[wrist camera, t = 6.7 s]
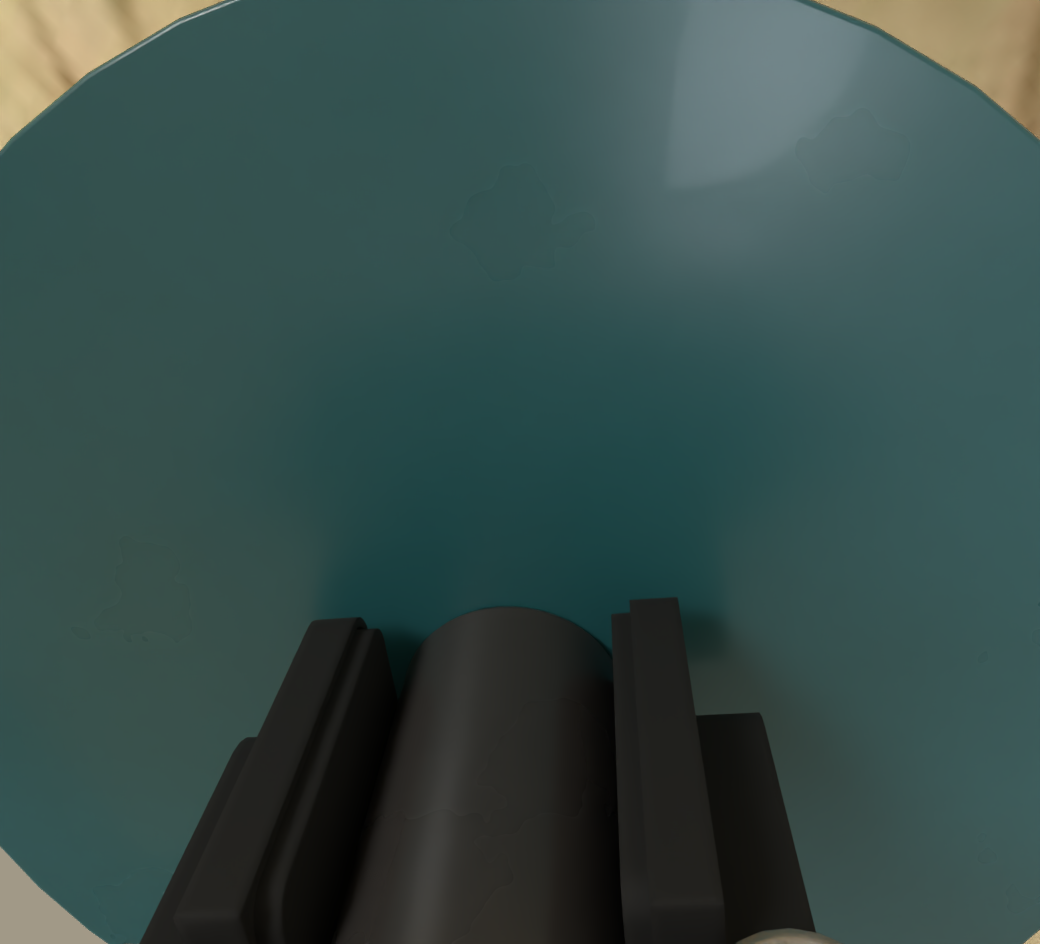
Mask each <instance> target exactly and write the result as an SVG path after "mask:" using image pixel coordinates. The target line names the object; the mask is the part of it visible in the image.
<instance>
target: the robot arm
mask: <svg viewBox="0 0 1040 944" xmlns="http://www.w3.org/2000/svg"><path fill="white" fill-rule="evenodd" d="M629 602H630V613H618V614H611V623H612V652H613V681H614V710H615V739H616V768H617V797H618V826H619V855H620V881H621V898H622V912H623V924H624V935H625V944H843V943H841V942H838V941H836V940H834V939H832V938H829V937H827V936H825V935H822V934H820V933H816V930H815V926H814V922H813V918H812V914H811V910H810V906H809V902H808V898H807V894H806V890H805V885H804V881H803V877H802V873H801V869H800V865H799V861H798V857H797V853H796V849H795V845H794V841H793V837H792V833H791V829H790V825H789V821H788V817H787V813H786V809H785V805H784V801H783V797H782V793H781V789H780V785H779V780H778V776H777V772H776V768H775V764H774V760H773V756H772V752H771V748H770V744H769V740H768V736H767V732H766V728H765V725H764V721H763V718H762V716H761V714H760V712H756V713H735V714H715V715H696V714H695V708H694V701H693V695H692V688H691V681H690V675H689V668H688V662H687V655H686V648H685V642H684V635H683V628H682V622H681V615H680V609H679V602H678V598H677V597H667V598H651V599H635V600H629ZM397 705H398V699H397V695H396V690H395V686H394V681H393V677H392V672H391V668H390V663H389V659H388V654H387V650H386V646H385V641H384V637H383V634H382V632H381V630H380V629H378V628H375V629H368V628H367V625H366V623H365V621H364V619H362V618H361V617H351V618H335V619H320V620H314V621H312V622H311V623H310V625H309V626H308V629H307V631H306V633H305V635H304V637H303V639H302V641H301V644H300V646H299V648H298V650H297V652H296V654H295V656H294V659H293V661H292V663H291V665H290V667H289V669H288V672H287V674H286V676H285V678H284V680H283V682H282V684H281V687H280V689H279V691H278V693H277V695H276V697H275V699H274V702H273V704H272V706H271V708H270V710H269V712H268V715H267V717H266V719H265V721H264V723H263V725H262V727H261V730H260V732H259V734H258V736H257V737H247V738H245V739H244V740H242V741H241V742H239V744H238V745H237V747H236V748H235V750H234V751H233V753H232V755H231V757H230V759H229V761H228V763H227V765H226V767H225V770H224V772H223V774H222V776H221V778H220V780H219V782H218V784H217V786H216V788H215V790H214V792H213V794H212V796H211V798H210V800H209V802H208V804H207V806H206V808H205V810H204V812H203V815H202V817H201V819H200V821H199V823H198V825H197V827H196V829H195V831H194V833H193V835H192V837H191V839H190V841H189V843H188V845H187V847H186V849H185V851H184V853H183V855H182V858H181V860H180V862H179V864H178V866H177V868H176V870H175V872H174V874H173V876H172V878H171V880H170V882H169V884H168V886H167V888H166V890H165V892H164V894H163V896H162V898H161V901H160V903H159V905H158V907H157V909H156V911H155V913H154V915H153V917H152V919H151V921H150V923H149V925H148V927H147V929H146V931H145V933H144V935H143V937H142V939H141V941H140V943H139V944H331V940H332V936H333V933H334V929H335V926H336V922H337V919H338V915H339V912H340V908H341V904H342V901H343V897H344V894H345V890H346V887H347V883H348V880H349V876H350V872H351V869H352V865H353V862H354V858H355V855H356V851H357V848H358V844H359V840H360V837H361V833H362V830H363V826H364V823H365V819H366V815H367V812H368V808H369V805H370V801H371V798H372V794H373V791H374V787H375V783H376V780H377V776H378V773H379V769H380V766H381V762H382V759H383V755H384V751H385V748H386V744H387V741H388V737H389V734H390V730H391V727H392V723H393V719H394V716H395V712H396V709H397ZM124 944H132V943H124Z"/></svg>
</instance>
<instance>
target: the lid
mask: <svg viewBox="0 0 1040 944" xmlns="http://www.w3.org/2000/svg"><path fill="white" fill-rule="evenodd" d="M667 597H677V598H678V602H679V609H680V615H681V622H682V628H683V635H684V642H685V648H686V655H687V662H688V668H689V675H690V681H691V688H692V695H693V701H694V708H695V714H696V715H715V714H735V713H756V712H760V714H761V716H762V718H763V721H764V725H765V728H766V732H767V736H768V740H769V744H770V748H771V752H772V756H773V760H774V764H775V768H776V772H777V776H778V780H779V785H780V789H781V793H782V797H783V801H784V805H785V809H786V813H787V817H788V821H789V825H790V829H791V833H792V837H793V841H794V845H795V849H796V853H797V857H798V861H799V865H800V869H801V873H802V877H803V881H804V885H805V890H806V894H807V898H808V902H809V906H810V910H811V914H812V918H813V922H814V926H815V930H816V933H820V934H822V935H825V936H827V937H829V938H832V939H834V940H836V941H838V942H841V943H843V944H1024V943H1025V942H1026V941H1027V940H1028V939H1029V938H1031V937H1032V936H1033V935H1034V934H1035V933H1036V932H1038V931H1039V930H1040V140H1039V139H1038V138H1037V137H1036V136H1035V135H1033V134H1032V133H1031V132H1030V131H1029V130H1028V129H1026V128H1025V127H1024V126H1023V125H1022V124H1020V123H1019V122H1018V121H1017V120H1016V119H1015V118H1013V117H1012V116H1011V115H1010V114H1009V113H1007V112H1006V111H1005V110H1004V109H1003V108H1001V107H1000V106H999V105H998V104H997V103H996V102H994V101H993V100H992V99H991V98H990V97H988V96H987V95H986V94H985V93H984V92H983V91H981V90H980V89H979V88H978V87H977V86H975V85H974V84H972V83H970V82H969V81H967V80H965V79H964V78H962V77H960V76H959V75H957V74H955V73H954V72H952V71H950V70H949V69H947V68H945V67H944V66H942V65H940V64H939V63H937V62H935V61H934V60H932V59H930V58H929V57H927V56H925V55H924V54H922V53H920V52H919V51H917V50H915V49H914V48H912V47H910V46H909V45H907V44H905V43H904V42H902V41H900V40H899V39H897V38H895V37H894V36H892V35H890V34H889V33H887V32H885V31H884V30H882V29H880V28H879V27H877V26H875V25H872V24H870V23H867V22H865V21H862V20H860V19H858V18H855V17H853V16H850V15H848V14H845V13H843V12H840V11H838V10H835V9H833V8H830V7H828V6H825V5H823V4H820V3H818V2H816V1H813V0H224V1H222V2H219V3H217V4H214V5H212V6H209V7H207V8H204V9H202V10H199V11H197V12H194V13H192V14H189V15H187V16H184V17H182V18H179V19H178V20H176V21H174V22H172V23H171V24H169V25H167V26H166V27H164V28H162V29H161V30H159V31H157V32H156V33H154V34H152V35H151V36H149V37H147V38H146V39H144V40H142V41H141V42H139V43H137V44H136V45H134V46H132V47H131V48H129V49H127V50H126V51H124V52H122V53H121V54H119V55H117V56H116V57H114V58H112V59H111V60H109V61H107V62H105V63H104V64H102V65H100V66H99V67H97V68H95V69H94V70H92V71H90V72H89V73H87V74H86V75H85V76H84V77H83V78H81V79H80V80H79V81H78V82H77V83H76V84H74V85H73V86H72V87H71V88H70V89H68V90H67V91H66V92H65V93H64V94H63V95H61V96H60V97H59V98H58V99H57V100H55V101H54V102H53V103H52V104H51V105H50V106H48V107H47V108H46V109H45V110H44V111H42V112H41V113H40V114H39V115H38V116H37V117H35V118H34V119H33V120H32V121H31V122H29V123H28V124H27V125H26V126H25V127H24V128H22V129H21V130H20V131H19V132H18V133H17V134H15V135H14V136H13V137H12V138H11V139H10V140H9V141H8V142H7V144H6V145H5V146H4V147H3V148H2V150H1V151H0V847H1V848H2V849H3V850H4V851H5V852H6V853H7V854H8V855H9V856H10V857H11V858H12V859H13V860H14V861H15V863H16V864H17V865H18V866H19V867H20V868H21V869H22V870H23V871H24V872H25V873H26V874H27V875H28V876H29V877H30V878H31V879H32V880H33V882H34V883H35V884H36V885H37V886H38V887H39V888H40V889H42V890H43V891H44V892H45V893H46V894H48V895H49V896H50V897H51V898H52V899H53V900H54V901H56V902H57V903H58V904H59V905H60V906H61V907H63V908H64V909H65V910H66V911H67V912H68V913H70V914H71V915H72V916H73V917H74V918H75V919H77V920H78V921H79V922H80V923H81V924H82V925H84V926H85V927H86V928H87V929H88V930H89V931H91V932H92V933H94V934H95V935H97V936H98V937H99V938H101V939H102V940H104V941H105V942H106V943H108V944H124V943H132V944H139V943H140V941H141V939H142V937H143V935H144V933H145V931H146V929H147V927H148V925H149V923H150V921H151V919H152V917H153V915H154V913H155V911H156V909H157V907H158V905H159V903H160V901H161V898H162V896H163V894H164V892H165V890H166V888H167V886H168V884H169V882H170V880H171V878H172V876H173V874H174V872H175V870H176V868H177V866H178V864H179V862H180V860H181V858H182V855H183V853H184V851H185V849H186V847H187V845H188V843H189V841H190V839H191V837H192V835H193V833H194V831H195V829H196V827H197V825H198V823H199V821H200V819H201V817H202V815H203V812H204V810H205V808H206V806H207V804H208V802H209V800H210V798H211V796H212V794H213V792H214V790H215V788H216V786H217V784H218V782H219V780H220V778H221V776H222V774H223V772H224V770H225V767H226V765H227V763H228V761H229V759H230V757H231V755H232V753H233V751H234V750H235V748H236V747H237V745H238V744H239V742H241V741H242V740H244V739H245V738H247V737H257V736H258V734H259V732H260V730H261V727H262V725H263V723H264V721H265V719H266V717H267V715H268V712H269V710H270V708H271V706H272V704H273V702H274V699H275V697H276V695H277V693H278V691H279V689H280V687H281V684H282V682H283V680H284V678H285V676H286V674H287V672H288V669H289V667H290V665H291V663H292V661H293V659H294V656H295V654H296V652H297V650H298V648H299V646H300V644H301V641H302V639H303V637H304V635H305V633H306V631H307V629H308V626H309V625H310V623H311V622H312V621H314V620H320V619H335V618H351V617H361V618H362V619H364V621H365V623H366V625H367V628H368V629H375V628H378V629H380V630H381V632H382V634H383V637H384V641H385V646H386V650H387V654H388V659H389V663H390V668H391V672H392V677H393V681H394V686H395V690H396V695H397V699H398V705H397V709H396V712H395V716H394V719H393V723H392V727H391V730H390V734H389V737H388V741H387V744H386V748H385V751H384V755H383V759H382V762H381V766H380V769H379V773H378V776H377V780H376V783H375V787H374V791H373V794H372V798H371V801H370V805H369V808H368V812H367V815H366V819H365V823H364V826H363V830H362V833H361V837H360V840H359V844H358V848H357V851H356V855H355V858H354V862H353V865H352V869H351V872H350V876H349V880H348V883H347V887H346V890H345V894H344V897H343V901H342V904H341V908H340V912H339V915H338V919H337V922H336V926H335V929H334V933H333V936H332V940H331V944H625V935H624V924H623V912H622V898H621V881H620V855H619V826H618V797H617V768H616V739H615V710H614V681H613V652H612V623H611V614H618V613H630V602H629V600H635V599H651V598H667Z"/></svg>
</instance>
